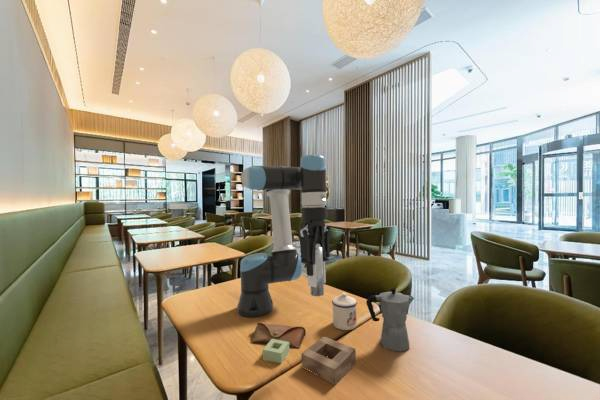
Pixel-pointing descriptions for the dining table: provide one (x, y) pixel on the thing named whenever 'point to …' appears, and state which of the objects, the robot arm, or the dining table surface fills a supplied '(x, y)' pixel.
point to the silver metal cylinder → (318, 272)
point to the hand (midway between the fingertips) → (317, 283)
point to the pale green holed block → (276, 351)
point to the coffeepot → (392, 318)
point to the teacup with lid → (344, 312)
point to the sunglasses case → (278, 334)
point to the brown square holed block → (326, 367)
